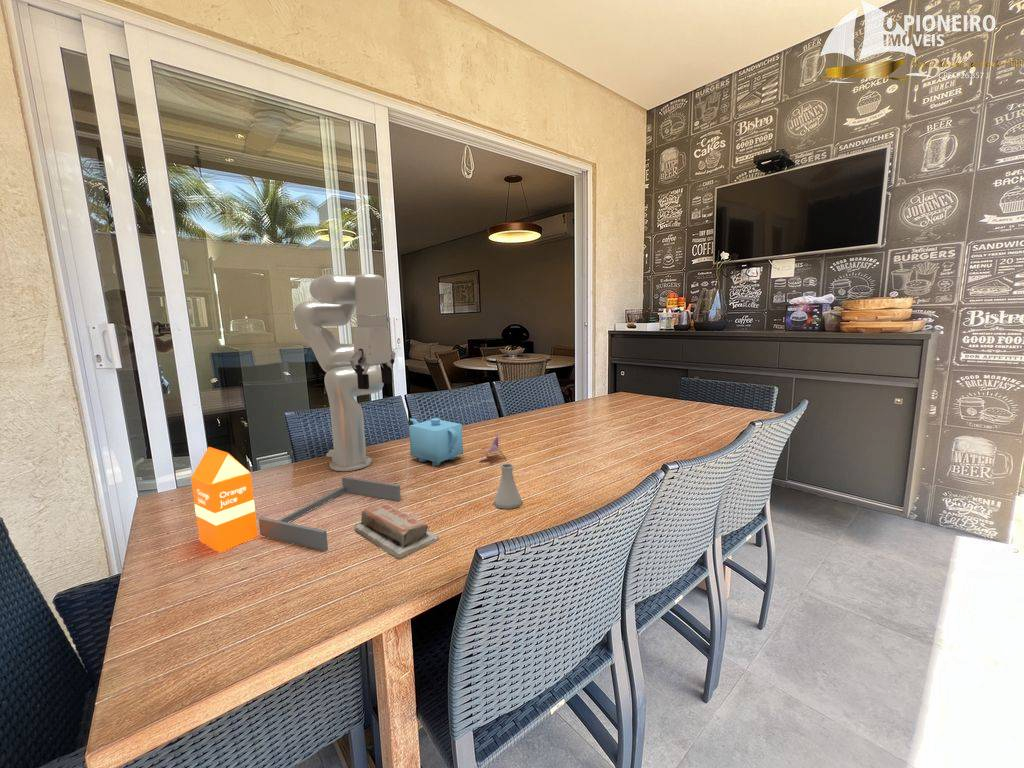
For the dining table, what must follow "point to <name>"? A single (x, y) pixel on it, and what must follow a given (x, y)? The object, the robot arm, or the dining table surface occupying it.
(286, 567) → the dining table surface
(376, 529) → the packaged product
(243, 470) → the orange juice
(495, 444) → the lily
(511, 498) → the flask
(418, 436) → the teapot
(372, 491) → the grey twin-plate frame
